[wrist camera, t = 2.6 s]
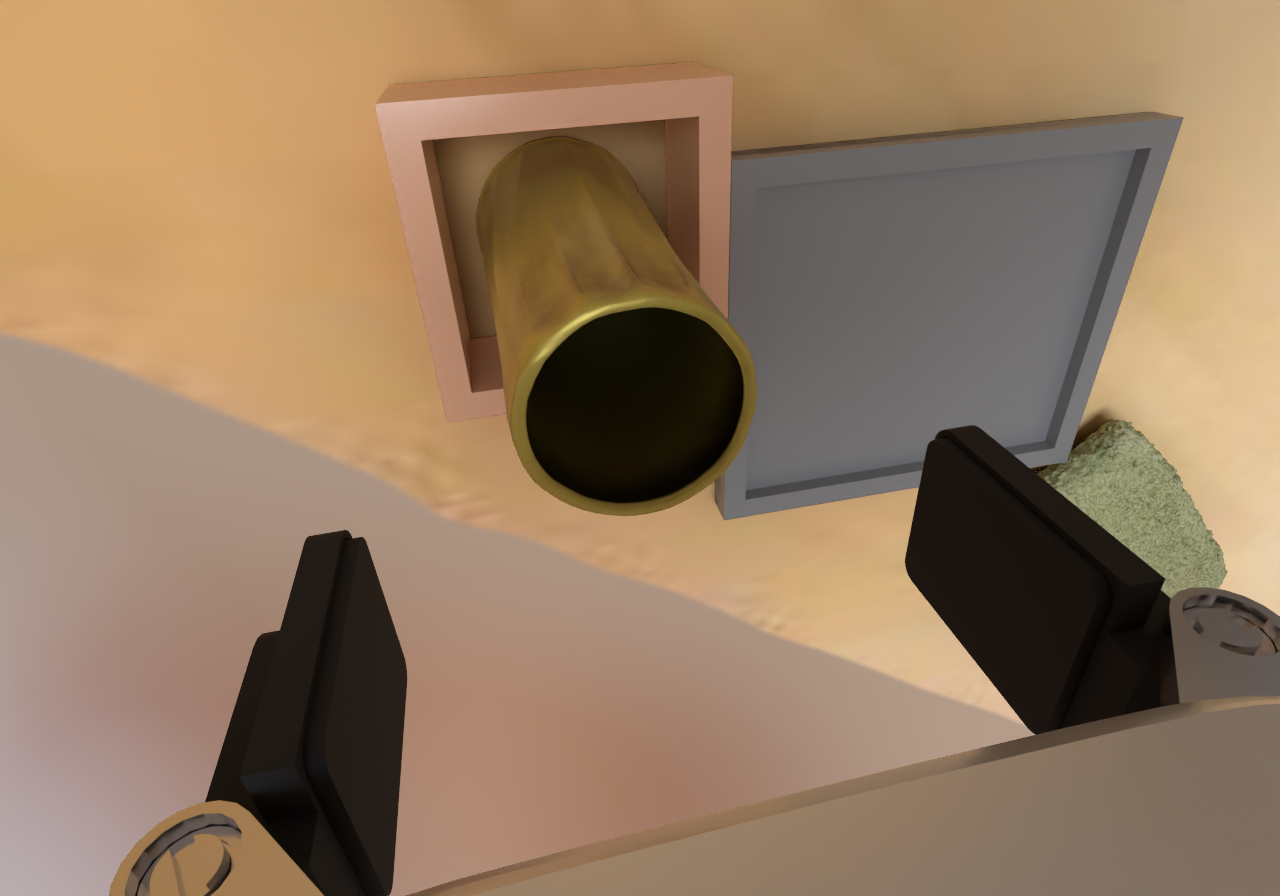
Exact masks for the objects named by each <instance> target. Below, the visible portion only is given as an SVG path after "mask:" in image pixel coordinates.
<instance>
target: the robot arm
mask: <svg viewBox="0 0 1280 896" xmlns="http://www.w3.org/2000/svg"><path fill="white" fill-rule="evenodd" d="M905 565H906V570H907V573H908V575H909V577H910V579H911V580H912V582H913V583H914V584H915V586H916V587H917V588H918V589H919V591H920V592H921V593H922V594H923V596H924V597H925V598H926V600H927V601H928V602H929V603H930V605H931V606H932V607H933V608H934V610H935V611H936V612H937V613H938V615H939V616H940V617H941V619H942V620H943V621H944V622H945V624H946V625H947V626H948V627H949V629H950V630H951V631H952V633H953V634H954V635H955V636H956V638H957V639H958V640H959V641H960V643H961V644H962V645H963V646H964V648H965V649H966V650H967V652H968V653H969V654H970V655H971V657H972V658H973V659H974V660H975V662H976V663H977V664H978V666H979V667H980V668H981V669H982V671H983V672H984V673H985V674H986V676H987V677H988V678H989V679H990V681H991V682H992V683H993V685H994V686H995V687H996V688H997V690H998V691H999V692H1000V693H1001V695H1002V696H1003V697H1004V699H1005V700H1006V701H1007V702H1008V704H1009V705H1010V706H1011V707H1012V709H1013V710H1014V711H1015V712H1016V714H1017V715H1018V716H1019V718H1020V719H1021V720H1022V721H1023V723H1024V724H1025V725H1026V726H1027V728H1028V729H1029V730H1030V731H1031V732H1033V733H1034V734H1036V735H1034V736H1029V737H1025V738H1021V739H1017V740H1013V741H1008V742H1004V743H1000V744H996V745H992V746H987V747H983V748H979V749H975V750H970V751H966V752H962V753H958V754H954V755H950V756H945V757H942V758H937V759H933V760H929V761H925V762H920V763H917V764H912V765H908V766H905V767H900V768H896V769H892V770H888V771H883V772H879V773H875V774H872V775H867V776H863V777H859V778H855V779H851V780H847V781H842V782H838V783H835V784H830V785H826V786H822V787H818V788H814V789H810V790H806V791H802V792H798V793H793V794H790V795H786V796H781V797H777V798H773V799H769V800H765V801H761V802H757V803H753V804H749V805H745V806H741V807H737V808H733V809H729V810H725V811H721V812H717V813H713V814H709V815H705V816H701V817H697V818H693V819H689V820H685V821H681V822H677V823H673V824H669V825H665V826H661V827H657V828H653V829H649V830H645V831H641V832H637V833H633V834H629V835H625V836H621V837H617V838H613V839H609V840H605V841H601V842H597V843H593V844H589V845H585V846H581V847H577V848H573V849H569V850H566V851H562V852H558V853H554V854H551V855H547V856H543V857H539V858H536V859H532V860H528V861H524V862H520V863H517V864H513V865H509V866H506V867H502V868H498V869H494V870H491V871H487V872H483V873H479V874H476V875H472V876H468V877H465V878H461V879H458V880H454V881H451V882H448V883H444V884H441V885H438V886H435V887H432V888H429V889H425V890H422V891H419V892H416V893H413V894H410V895H407V896H1280V616H1278V615H1277V614H1275V613H1274V612H1272V611H1271V610H1269V609H1268V608H1266V607H1265V606H1263V605H1261V604H1259V603H1257V602H1255V601H1253V600H1251V599H1249V598H1247V597H1245V596H1242V595H1239V594H1235V593H1232V592H1229V591H1226V590H1221V589H1215V588H1208V587H1195V588H1188V589H1185V590H1181V591H1178V592H1177V593H1176V594H1175V595H1174V596H1173V597H1172V598H1170V597H1169V596H1167V595H1166V594H1165V593H1164V592H1163V591H1161V588H1162V586H1163V584H1164V582H1165V580H1166V579H1165V578H1164V577H1163V576H1162V575H1160V574H1159V573H1158V572H1157V571H1155V570H1154V569H1153V568H1152V567H1151V566H1149V565H1148V564H1147V563H1146V562H1144V561H1143V560H1142V559H1141V558H1139V557H1138V556H1137V555H1136V554H1135V553H1133V552H1132V551H1131V550H1130V549H1128V548H1127V547H1126V546H1125V545H1123V544H1122V543H1121V542H1120V541H1119V540H1117V539H1116V538H1115V537H1114V536H1112V535H1111V534H1110V533H1109V532H1107V531H1106V530H1105V529H1104V528H1103V527H1101V526H1100V525H1099V524H1098V523H1096V522H1095V521H1094V520H1093V519H1091V518H1090V517H1089V516H1088V515H1087V514H1085V513H1084V512H1083V511H1082V510H1080V509H1079V508H1078V507H1077V506H1075V505H1074V504H1073V503H1072V502H1071V501H1069V500H1068V499H1067V498H1066V497H1064V496H1063V495H1062V494H1061V493H1060V492H1058V491H1057V490H1056V489H1055V488H1053V487H1052V486H1051V485H1050V484H1048V483H1047V482H1046V481H1045V480H1044V479H1042V478H1041V477H1040V476H1039V475H1037V474H1036V473H1035V472H1034V471H1032V470H1031V469H1030V468H1029V467H1028V466H1026V465H1025V464H1024V463H1023V462H1021V461H1020V460H1019V459H1018V458H1016V457H1015V456H1014V455H1013V454H1012V453H1010V452H1009V451H1008V450H1007V449H1005V448H1004V447H1003V446H1002V445H1000V444H999V443H998V442H997V441H996V440H994V439H993V438H992V437H991V436H989V435H988V434H987V433H986V432H984V431H983V430H982V429H981V428H979V427H977V426H975V425H969V426H963V427H957V428H951V429H945V430H942V431H939V432H938V434H937V435H936V436H935V439H934V440H932V441H930V442H929V444H928V446H927V449H926V454H925V460H924V465H923V470H922V475H921V480H920V485H919V490H918V496H917V501H916V506H915V511H914V516H913V521H912V527H911V532H910V537H909V542H908V547H907V552H906V557H905ZM406 688H407V670H406V663H405V658H404V655H403V652H402V649H401V646H400V643H399V640H398V637H397V634H396V631H395V627H394V625H393V622H392V619H391V616H390V612H389V610H388V606H387V603H386V600H385V597H384V594H383V591H382V588H381V585H380V582H379V579H378V576H377V573H376V570H375V567H374V564H373V561H372V558H371V555H370V552H369V549H368V546H367V543H366V541H365V539H364V538H363V537H359V538H354V539H353V538H352V536H351V534H350V533H349V531H347V530H343V531H338V532H331V533H326V534H320V535H314V536H309V537H307V538H306V541H305V543H304V546H303V550H302V553H301V557H300V561H299V564H298V568H297V571H296V575H295V579H294V582H293V586H292V590H291V593H290V597H289V600H288V604H287V607H286V611H285V614H284V618H283V622H282V625H281V629H280V631H275V632H269V633H264V634H262V635H260V636H259V637H258V639H257V641H256V643H255V645H254V647H253V650H252V654H251V657H250V660H249V663H248V666H247V670H246V673H245V676H244V679H243V683H242V686H241V689H240V692H239V695H238V698H237V702H236V705H235V708H234V711H233V715H232V718H231V721H230V724H229V728H228V730H227V734H226V737H225V740H224V743H223V746H222V750H221V753H220V756H219V759H218V763H217V766H216V769H215V772H214V775H213V779H212V782H211V785H210V788H209V791H208V795H207V798H206V801H205V803H199V804H196V805H194V806H191V807H189V808H186V809H184V810H181V811H179V812H177V813H175V814H174V815H172V816H170V817H169V818H167V819H166V820H164V821H163V822H161V823H159V824H158V825H156V826H155V827H154V828H153V829H152V830H151V831H149V832H148V833H147V834H146V835H145V836H144V837H143V838H142V839H141V840H140V841H138V843H136V845H135V846H134V847H133V849H132V850H131V851H130V853H129V854H128V855H127V856H126V858H125V859H124V860H123V862H122V863H121V865H120V867H119V869H118V871H117V873H116V875H115V877H114V879H113V882H112V884H111V887H110V893H109V896H389V895H390V893H391V890H392V884H393V872H394V858H395V844H396V831H397V817H398V802H399V787H400V774H401V760H402V746H403V732H404V717H405V702H406Z"/></svg>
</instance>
